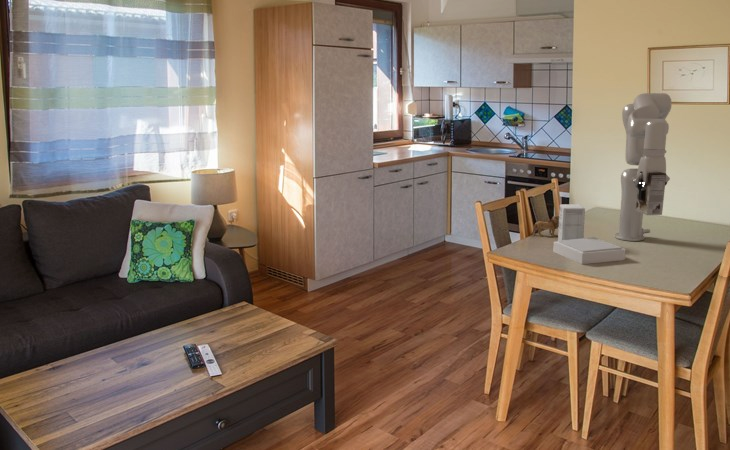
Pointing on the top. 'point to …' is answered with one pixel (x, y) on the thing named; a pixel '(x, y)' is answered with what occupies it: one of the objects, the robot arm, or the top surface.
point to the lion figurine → (547, 226)
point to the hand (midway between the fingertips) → (649, 199)
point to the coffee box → (653, 195)
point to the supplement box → (571, 221)
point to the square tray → (589, 250)
